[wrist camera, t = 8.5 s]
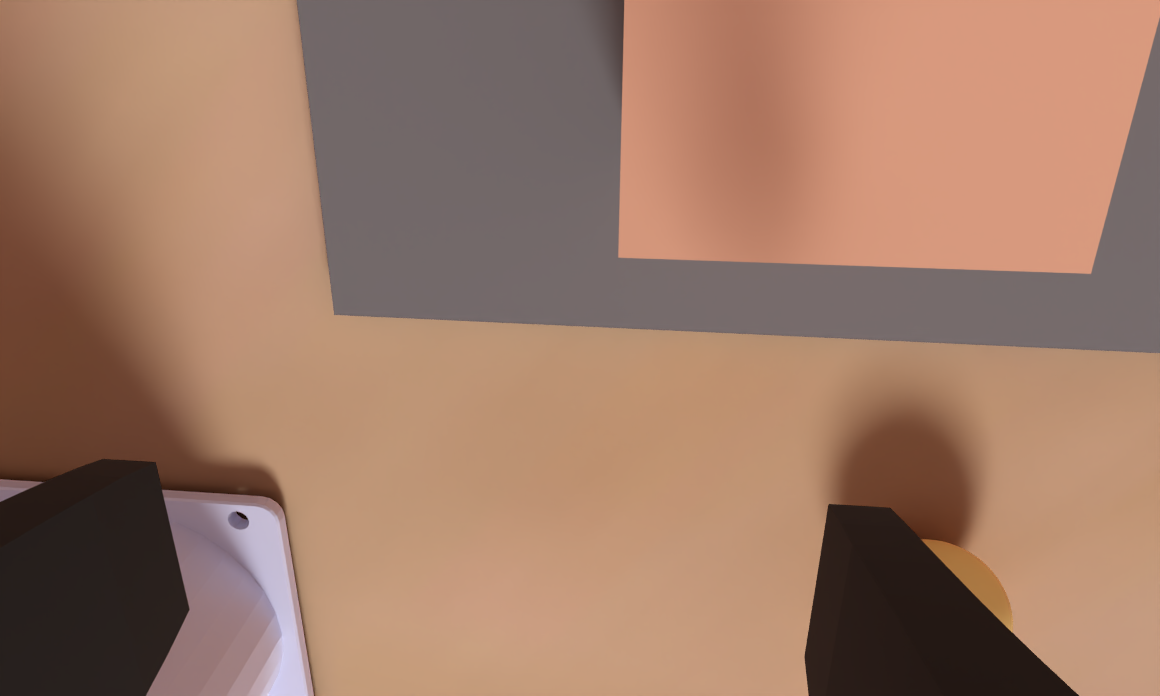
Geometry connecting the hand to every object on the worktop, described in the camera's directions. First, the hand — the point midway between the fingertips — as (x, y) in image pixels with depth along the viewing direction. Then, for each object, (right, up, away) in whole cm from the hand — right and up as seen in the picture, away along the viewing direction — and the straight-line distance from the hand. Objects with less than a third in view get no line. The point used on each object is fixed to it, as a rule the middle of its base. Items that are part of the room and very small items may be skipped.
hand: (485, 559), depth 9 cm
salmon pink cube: (+5, +8, +5) cm, 11 cm away
